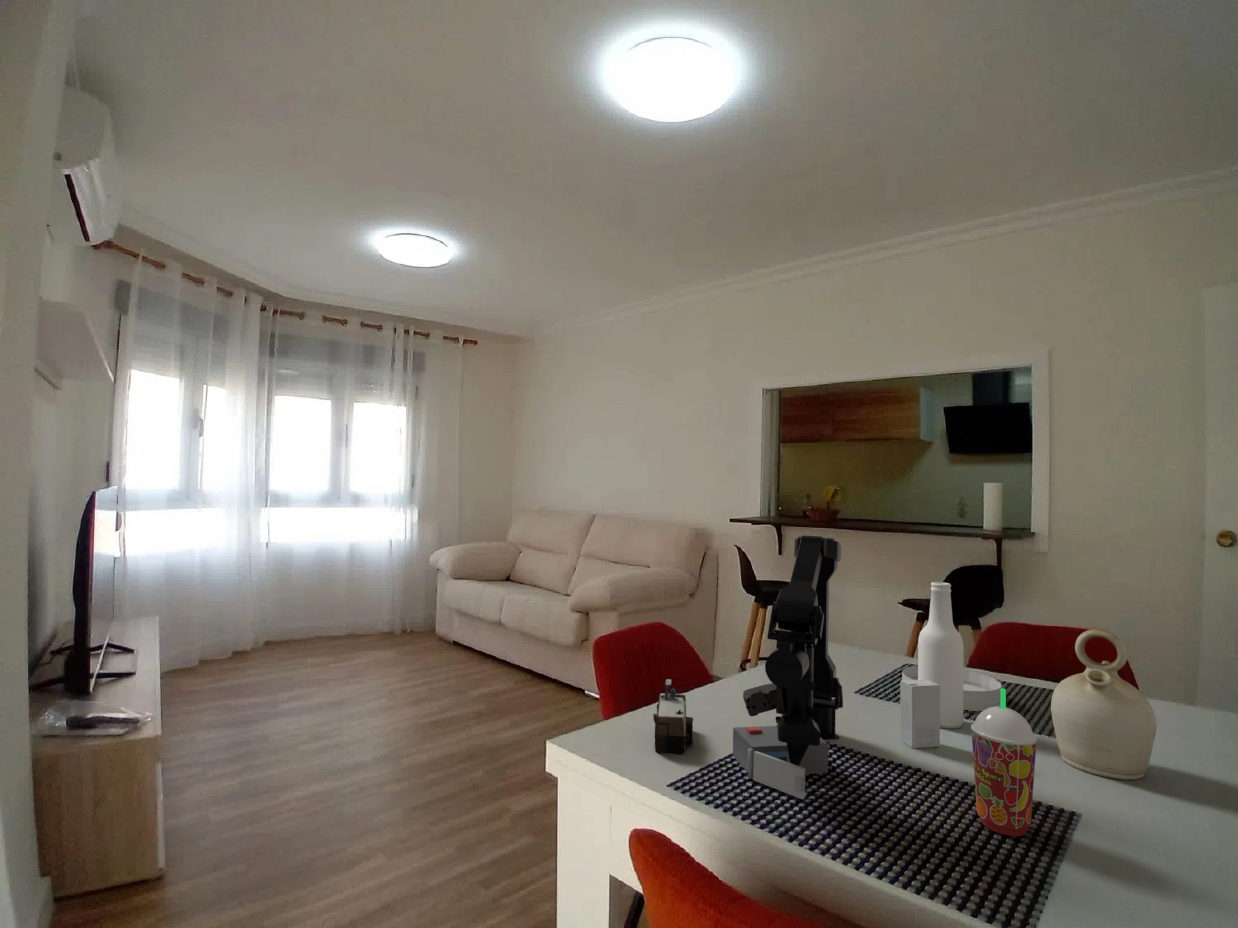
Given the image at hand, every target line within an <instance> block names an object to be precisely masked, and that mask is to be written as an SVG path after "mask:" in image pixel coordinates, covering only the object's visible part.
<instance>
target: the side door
mask: <svg viewBox="0 0 1238 928" xmlns="http://www.w3.org/2000/svg"><path fill="white" fill-rule="evenodd" d="M747 779H750V780H753V781H755V782H756V783H759V784H762V785H763V786H764V785H765V786H767V787H770V788H773V789H774V790H778V791H780V792H783V793H785V794H788V795H790V796H792V797H794V798H798V799H800V800H804V799H805V798H806V774H805V768H803V767H800V766H797V765H794V764H792V763H789V762H786V761H783V760H780V759H777V758H775V757H772V756H769V755H766V754H763V753H761V752H758V751H755V752H754V749H752V748H749V749H748V772H747Z"/></svg>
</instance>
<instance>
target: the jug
mask: <svg viewBox="0 0 1238 928" xmlns="http://www.w3.org/2000/svg"><path fill="white" fill-rule="evenodd" d="M1093 638H1102V639H1105V640H1107V641H1109V642H1110V643H1111V644H1112V645H1113V647H1114V648H1115V650H1116V653H1117V654H1116V659H1115V660H1114V661H1112V662H1109V661H1108V660H1102V662H1097V661H1094V660H1092V659H1091V658H1089V656H1088V655H1087V653H1086V651H1085V645H1086V643H1087V642H1088V641H1089V640H1091V639H1093ZM1074 650H1075V654H1076V657H1077V658H1078V660H1079V661H1080V662H1081V663H1082V664H1083V665H1084V666H1085V667H1086V668H1085V670H1084V671H1083V672H1081V673H1079V672H1078V673H1076V674H1073V675H1070V676H1068V677H1066V678H1064V679H1062V680H1061V681H1059V683H1058V684H1057V686H1056V687H1055V689H1054V691H1053V692H1052V696H1051V701H1050V711H1051V718H1052V723H1053V729H1054V733H1055V738H1056V744H1057V748H1058V749H1059V752H1060V757H1061V759H1062V761H1064V762H1065V763H1066V764H1068V765H1069V766H1071V767H1073V768H1074V769H1075V768H1076V769H1078V770H1080V771H1083V772H1085V773H1088V774H1092V775H1095V776H1099V777H1103V778H1108V779H1116V780H1121V781H1135V780H1136V781H1137V780H1139V779H1142V778H1144V776H1145V775H1146V771H1147V769H1148V767H1149V763H1150V760H1151V757H1152V752H1153V747H1154V743H1155V740H1156V733H1157V729H1158V728H1157V726H1158V725H1157V719H1156V714H1155V711H1154V708H1153V707H1152V704H1151V703H1150V702H1149V700H1148V698H1147V697H1146V696H1145V694H1143V693H1142V692H1141V691H1140V690H1139V689H1137V687H1135V686H1133V685H1132V684H1131V683H1130V682H1128V681H1126V680H1124V679H1123V678H1121V677H1120V676H1119V674H1118V671H1119V670H1120V669H1122V668H1123V667H1124V666H1125V664H1126V663H1127V660H1128V650H1127V647H1126V645H1125V643H1124V642H1123V640H1122V639H1121V638H1120V637H1119V636H1117V634H1115V633H1113V632H1111V631H1108V630H1106V629H1103V628H1092V629H1088V630H1085V631H1083V632H1082V633H1080V635H1079V636H1078V637H1077V638H1076V641H1075V644H1074Z"/></svg>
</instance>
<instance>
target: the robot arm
mask: <svg viewBox="0 0 1238 928" xmlns="http://www.w3.org/2000/svg"><path fill="white" fill-rule="evenodd" d="M841 547H842V546H841V543H840V542H839V541H837V540H836V539H835V538H834V537H823V536H822V535H804V534H802V535H801V536H798V537H797V538H795V539H794V550H793V557H794V558H795V562H794V564H793V569H792V571H791V573H792V574H791V576H790V581H789V583H788V584H787V585H786V586H784V587H783V588H781V589H780V590H779V592H778V595H777V598H776V601H773V603H772V606H771V612H770V618H769V626H768V631H767V636H766V637H767V640H773V641H776V647H775V649H774V650H773V651H772V652H771V653H770V654H769V655H768V656H767V658H766V660H765V665H764V670H765V674H766V677H767V678H768V680H769V681H770V682H771V683H766V684H763V685H758V686H755V687H751V688H748V689H745V690H743V692H742V694H743V695H742V698H743V701H744V705H745V708H746V710H747V713H748V716H749V717H756V716H758V715H759V714H763V713H767V712H770V711H773V710H775V713H776V714H777V715H778V714H779V716H775V723H776V725H775V726H777V735H778V740H779V741H781V742H786V743H787V748H788V754H789V760H790V763H792V764H794V765H797V766H799V765H800V763H801V760H802V758H803V756H804V754H805V752H806V750H807V748H808V746H809V745H814V746H817V745H820V738H822V739H823V740H824V741H826V740H839V739H840V735H839V734H837V733H836V714H837V713H836V710H839V709H843V708H844V695H843V693H844V692H843V686H842V684H841V682H840V678H839V677H837V667H836V665H835V663H834V661H833V660H832V658H831V656H830V654H829V613H830V609H829V607H830V605H829V603H830V580H831V579H832V577H833V576H834V574H835V572H836V571H837V569H838V563H839V562H841V557H842V548H841ZM776 628H778V629H776Z"/></svg>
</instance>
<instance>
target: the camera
mask: <svg viewBox="0 0 1238 928" xmlns="http://www.w3.org/2000/svg"><path fill="white" fill-rule="evenodd" d="M671 686H672V679H670V678H669V679H668V678H667V679H665V681H664V693H659V694H658V695H659V698H658V702H657V705H656V713H653V715H652V716H653V722H654V750H655V753H657V754H668V755H679V756H681V755H685V753H686V747H693V746H694V739H693V730H694V729H693V728H694V727H693V723H694V718H693V716H691V717H690V716H687V699H686V695H685V694H683V693H677V692H676V690H675V688H674V686H673V687H672V688H671V689H670V691H669V688H670V687H671ZM669 692H670V693H669Z"/></svg>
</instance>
